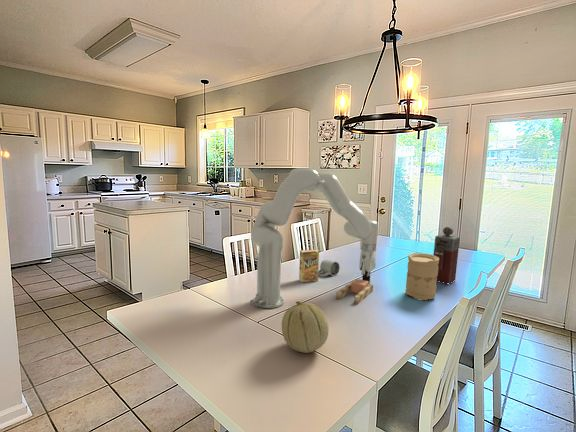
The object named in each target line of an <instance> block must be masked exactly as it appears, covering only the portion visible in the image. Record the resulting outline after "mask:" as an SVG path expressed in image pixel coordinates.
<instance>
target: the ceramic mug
mask: <svg viewBox="0 0 576 432" xmlns="http://www.w3.org/2000/svg"><path fill="white" fill-rule="evenodd" d="M319 268H320V269H318V276H320V277H322V278H323V277H324V278H325V277H327V276H332V277H336V276H337V275H338V274H339V272H340V268H341V267H340V264H339V262H338V261H336V260H331V259H324V260H322V261H321V262H320V265H319Z"/></svg>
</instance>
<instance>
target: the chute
mask: <svg viewBox="0 0 576 432" xmlns="http://www.w3.org/2000/svg"><path fill="white" fill-rule="evenodd" d="M354 280H355V279H354ZM354 280H352V281H354ZM352 281H350V282H349V283H347V284H345V286H343V287H341V288H340V289H338V291H337V292H336V299H338V300H341V299H342V298H344V297H345V296H347V295H348V294H349V293H351V282H352ZM372 292H374V284H371V283H370V284H369V285H368V286H367V287H366V288H364V289H363V290H362V291H361V292H360V293H356V295H354V304H356V305H358V304H360V303H362V301H364V299H366V298H367V297H368V296H369V295H370V294H372Z"/></svg>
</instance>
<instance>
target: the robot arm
mask: <svg viewBox="0 0 576 432" xmlns="http://www.w3.org/2000/svg"><path fill="white" fill-rule="evenodd" d="M304 191H311V192H318V193H322V195H323V196H324V197H325V199H326V200H327V202H328V204H329V205H330V207H331V209H332V210H333V211H334V212H335V213H336V214H337V215H339V216H341V217H342V218H344V219H345V220H347V221H346V222H345V223H344V225H343V231H344V233H345V234H346V235H348V236H350V237H353V238H355V239H359V240H360V242H359V250H360V255H359V264H358V265H359V266H358V268H359V271H361V275H362V279H361V280H365V281H369V284H371V274H372V271H373V270H375V269H376V265H377V262H376V261H377V257H376V256H377V253H376V251H377V241H378V229H379V224H378V221H376V220H373V219H368V217H367V216H366V215H365V214H364V212H363V211H362V210H361V209H360V208H359V207H358V206H357V205H356V204H355V203H354V202H353V201H352V200H351V199H350V197H349V196H348V194H347V192H346V190H345V189H344V187H343V186H342V183H341V181H339V179H338V178H337V176H336V175H335V174H333V173H325V172H318V171H316V170H315V169H313V168H305V167H304V168H303V167H302V168H300V167H298V168H293V169H292V170H291V171H290V172H289V173H288V176H287V177H286V178H284V180H283V181H282V182H281V184H280V185H279V187H278V188H277V191H276V194H275V195H274V198H273V200H267V201H266V202H264V203H263V204H262V205H261V206H260V208H259V211H258V213H257V215H256V218H255V221H254V223H253V225H252V228H251V231H250V237H251V240H252V242H253V243H254V245H256V246H257V247H258V248H259V249H258V254H257V263H256V266H257V267H256V271H257V273H256V276H257V277H256V282H257V283H256V294H255V297H253V298H252V299H250V303H249V304H250V305H252V306H253V305H255V306H256V307H258V308H261V309H275V308H276V309H277V308H279V307H281V306H283V305H284V304H285V303H284V301H285V300H284V298H283V297H282V296H281V275H282V274H281V261H282V252H283V251H282V250H283V248H284V246H283V245H284V238H283V235H282V233H281V232H280V231H279V230H278V229H276V228H275V227H276V226H278V227H282V226H285V225H286V224H287V223H288V221H289V219H290V217H291V214H292V212H293V209H294V207H295V204H296V201H297V200H298V197H299V196H300V195H301V194H302V193H303V192H304Z"/></svg>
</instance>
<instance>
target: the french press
mask: <svg viewBox="0 0 576 432" xmlns="http://www.w3.org/2000/svg"><path fill="white" fill-rule="evenodd" d="M460 239H461V238H460V236H459V235H454V229H453V227H452V226H446V227H444V228H443V230H442V233H440V234H438V235H436V236H435V238H434V248H433V255H434V256H436V257H438V258H439V264H438V276H437V277H436V278H437V281H440V282H444V283H449V284H450V283H451V282H453V281H454V280H455V281H456V277H457V269H458V268H457V266H458V258H459V250H460V249H459V248H460ZM455 281H454V282H455ZM440 282H439V283H440ZM454 282H453V283H454ZM451 284H452V283H451ZM451 284H450V285H451Z"/></svg>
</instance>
